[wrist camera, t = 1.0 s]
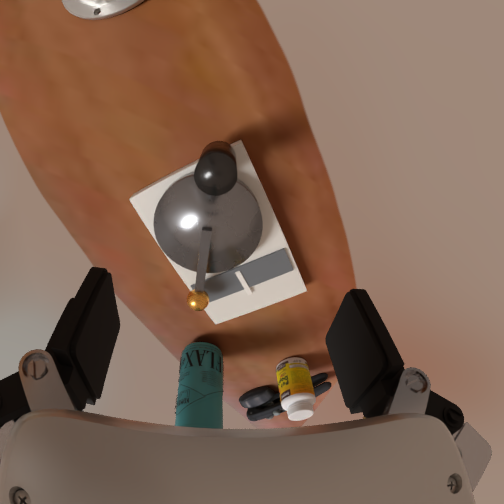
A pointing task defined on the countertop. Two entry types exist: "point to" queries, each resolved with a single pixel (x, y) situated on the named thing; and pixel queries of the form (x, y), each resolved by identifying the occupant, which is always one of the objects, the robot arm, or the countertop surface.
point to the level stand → (249, 272)
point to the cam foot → (208, 219)
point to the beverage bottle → (200, 387)
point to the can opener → (274, 399)
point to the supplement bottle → (295, 388)
